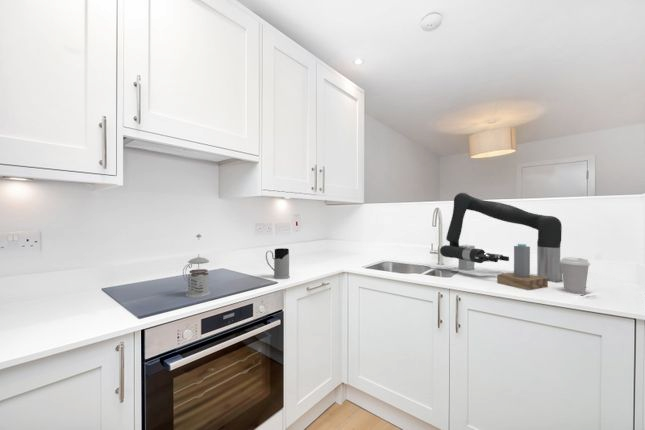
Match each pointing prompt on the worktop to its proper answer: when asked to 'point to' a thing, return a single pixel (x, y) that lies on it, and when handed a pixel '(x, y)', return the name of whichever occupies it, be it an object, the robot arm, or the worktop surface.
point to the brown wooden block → (522, 281)
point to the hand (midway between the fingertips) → (503, 259)
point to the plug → (522, 261)
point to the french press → (197, 278)
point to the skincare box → (464, 263)
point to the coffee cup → (575, 274)
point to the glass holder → (280, 263)
